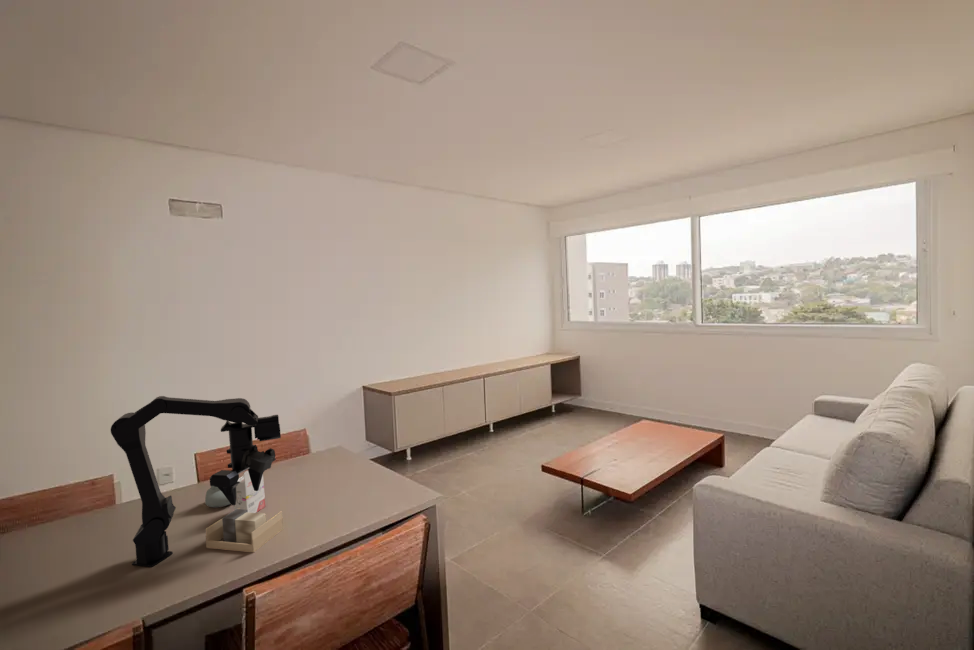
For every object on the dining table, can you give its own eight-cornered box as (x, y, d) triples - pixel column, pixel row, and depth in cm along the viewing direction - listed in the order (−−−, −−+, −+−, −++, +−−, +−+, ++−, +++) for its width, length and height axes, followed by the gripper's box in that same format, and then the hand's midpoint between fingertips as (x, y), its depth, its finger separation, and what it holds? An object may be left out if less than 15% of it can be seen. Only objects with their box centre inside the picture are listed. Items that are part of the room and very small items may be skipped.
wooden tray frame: (253, 552, 125) (252, 532, 124) (206, 547, 128) (205, 528, 127) (283, 529, 137) (282, 510, 137) (239, 525, 140) (238, 507, 140)
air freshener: (233, 508, 152) (231, 478, 151) (204, 513, 149) (202, 483, 148) (238, 495, 162) (236, 467, 161) (211, 499, 159) (209, 471, 158)
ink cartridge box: (252, 505, 153) (249, 462, 152) (265, 506, 152) (263, 462, 151) (233, 518, 145) (230, 472, 144) (247, 519, 144) (244, 473, 143)
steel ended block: (268, 534, 134) (266, 511, 134) (254, 544, 129) (253, 520, 128) (238, 532, 136) (236, 508, 136) (223, 542, 131) (222, 518, 130)
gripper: (242, 456, 120) (247, 514, 121) (287, 434, 138) (290, 485, 139) (205, 455, 122) (210, 512, 123) (254, 433, 140) (258, 483, 141)
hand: (245, 497), depth 132 cm, fingers open, 9 cm apart
